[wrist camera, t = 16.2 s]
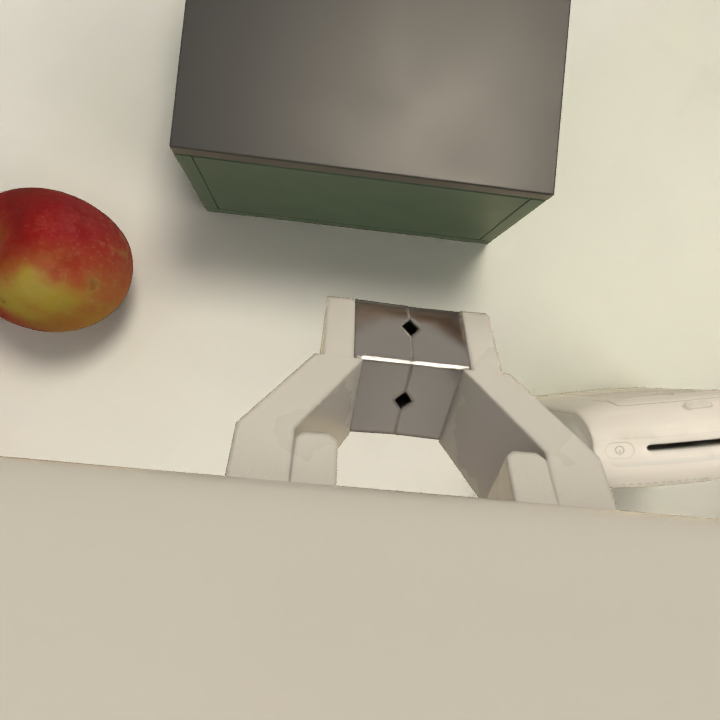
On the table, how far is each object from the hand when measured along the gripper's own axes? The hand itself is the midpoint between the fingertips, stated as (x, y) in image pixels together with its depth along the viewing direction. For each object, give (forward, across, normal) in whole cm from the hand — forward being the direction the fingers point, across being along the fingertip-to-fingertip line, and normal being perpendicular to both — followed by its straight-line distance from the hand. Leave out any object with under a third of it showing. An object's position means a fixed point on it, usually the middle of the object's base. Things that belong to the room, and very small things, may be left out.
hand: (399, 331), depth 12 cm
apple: (+22, +16, +17) cm, 32 cm away
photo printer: (+18, -16, +21) cm, 32 cm away
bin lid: (+24, 0, +1) cm, 24 cm away
